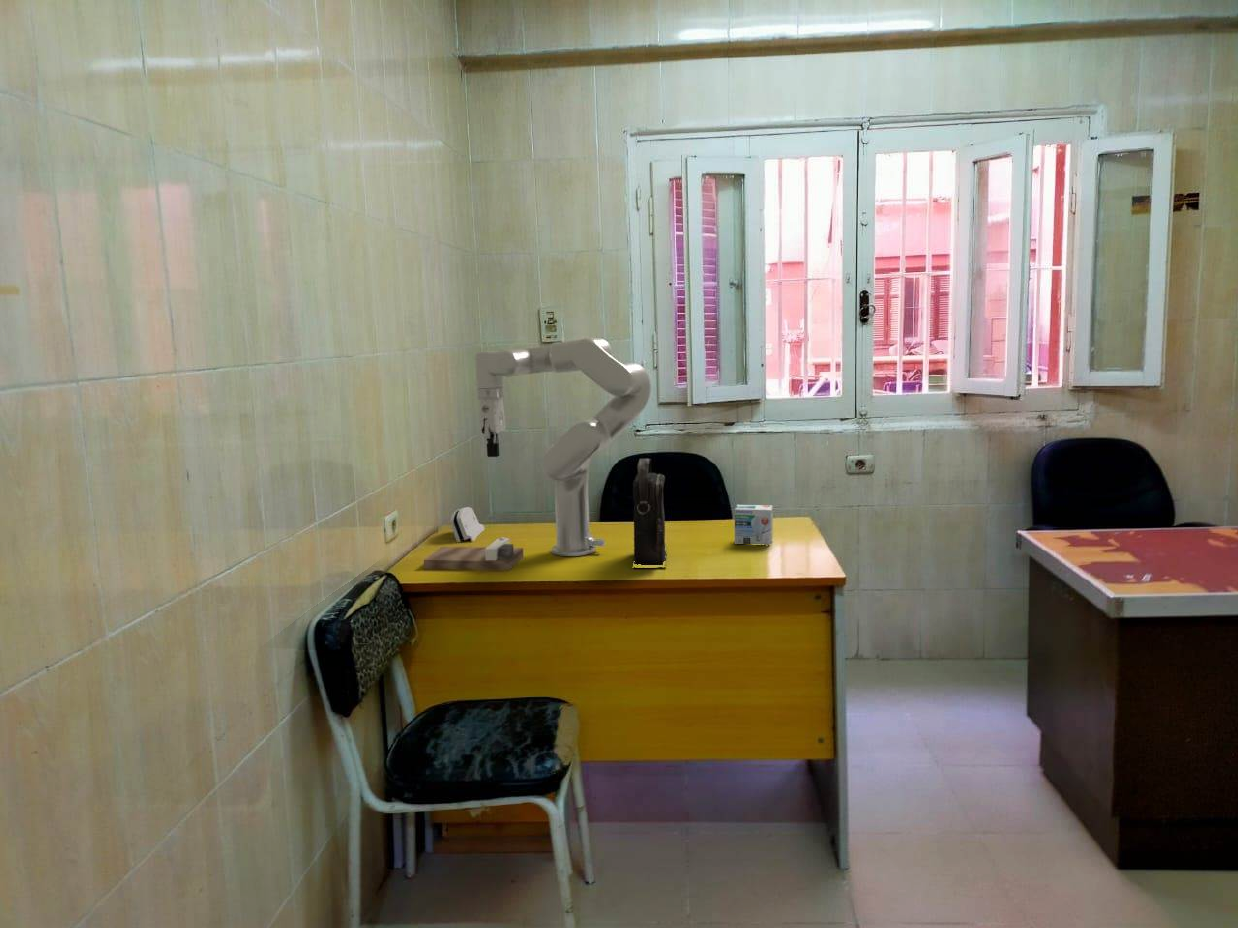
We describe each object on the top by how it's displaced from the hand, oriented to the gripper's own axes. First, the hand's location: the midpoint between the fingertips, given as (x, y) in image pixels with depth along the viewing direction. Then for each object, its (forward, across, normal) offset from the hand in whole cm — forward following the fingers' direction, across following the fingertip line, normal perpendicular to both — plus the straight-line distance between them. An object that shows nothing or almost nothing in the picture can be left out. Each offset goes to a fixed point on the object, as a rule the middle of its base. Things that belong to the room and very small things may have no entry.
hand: (493, 456), depth 256 cm
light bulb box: (+27, +9, -75) cm, 80 cm away
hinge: (+28, +13, +14) cm, 33 cm away
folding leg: (+24, -19, -6) cm, 31 cm away
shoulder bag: (+27, -10, -47) cm, 55 cm away
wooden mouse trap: (+27, -18, +1) cm, 33 cm away
